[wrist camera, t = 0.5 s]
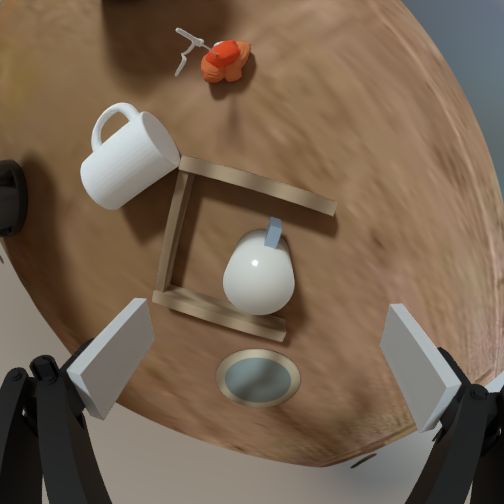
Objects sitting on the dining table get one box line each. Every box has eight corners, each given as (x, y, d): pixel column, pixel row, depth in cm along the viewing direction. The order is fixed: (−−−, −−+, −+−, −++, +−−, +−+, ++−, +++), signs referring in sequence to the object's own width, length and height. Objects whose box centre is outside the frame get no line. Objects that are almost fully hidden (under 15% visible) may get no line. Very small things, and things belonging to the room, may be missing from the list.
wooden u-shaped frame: (161, 290, 38) (152, 301, 34) (190, 156, 32) (181, 155, 28) (281, 328, 38) (282, 342, 35) (331, 199, 32) (337, 202, 29)
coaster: (209, 394, 44) (208, 396, 43) (227, 338, 39) (226, 339, 39) (282, 411, 44) (282, 413, 43) (313, 360, 40) (313, 362, 39)
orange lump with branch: (178, 77, 29) (139, 43, 17) (236, 34, 26) (220, -15, 15) (206, 106, 30) (173, 78, 18) (265, 62, 28) (262, 16, 16)
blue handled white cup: (228, 271, 36) (215, 303, 27) (248, 205, 33) (239, 219, 25) (279, 286, 36) (280, 322, 28) (302, 223, 33) (312, 242, 25)
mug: (188, 166, 32) (164, 166, 25) (130, 205, 34) (97, 216, 27) (148, 94, 30) (119, 79, 22) (95, 137, 32) (60, 134, 24)
